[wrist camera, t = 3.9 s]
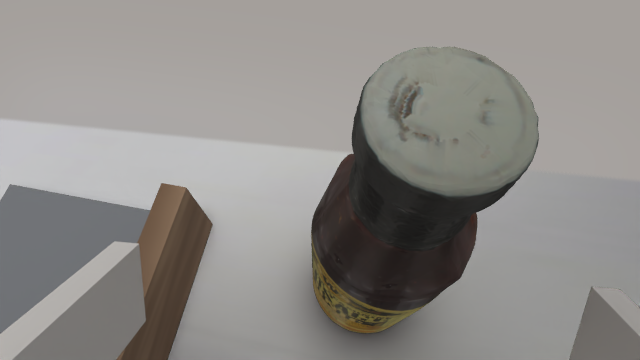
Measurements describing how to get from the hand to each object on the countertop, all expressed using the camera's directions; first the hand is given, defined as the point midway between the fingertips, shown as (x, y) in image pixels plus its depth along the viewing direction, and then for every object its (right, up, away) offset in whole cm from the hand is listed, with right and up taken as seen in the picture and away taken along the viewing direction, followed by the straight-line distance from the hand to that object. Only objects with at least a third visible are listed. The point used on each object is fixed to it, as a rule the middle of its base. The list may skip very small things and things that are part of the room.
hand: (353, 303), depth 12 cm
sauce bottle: (+2, -3, +15) cm, 15 cm away
